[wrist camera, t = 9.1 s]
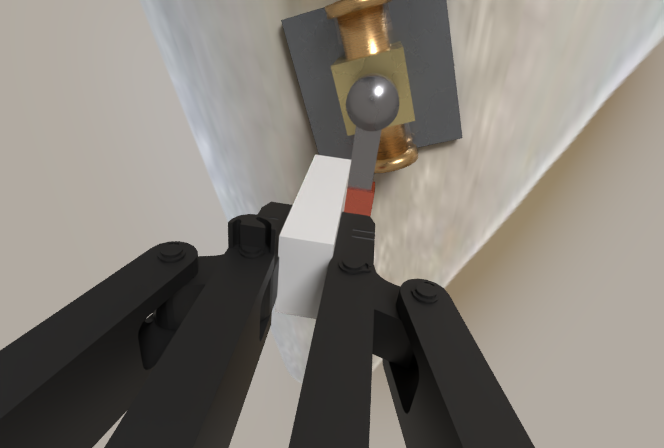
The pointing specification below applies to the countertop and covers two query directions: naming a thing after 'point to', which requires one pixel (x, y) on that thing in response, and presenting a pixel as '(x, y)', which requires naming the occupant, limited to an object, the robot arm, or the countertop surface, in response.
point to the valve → (377, 57)
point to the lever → (367, 135)
